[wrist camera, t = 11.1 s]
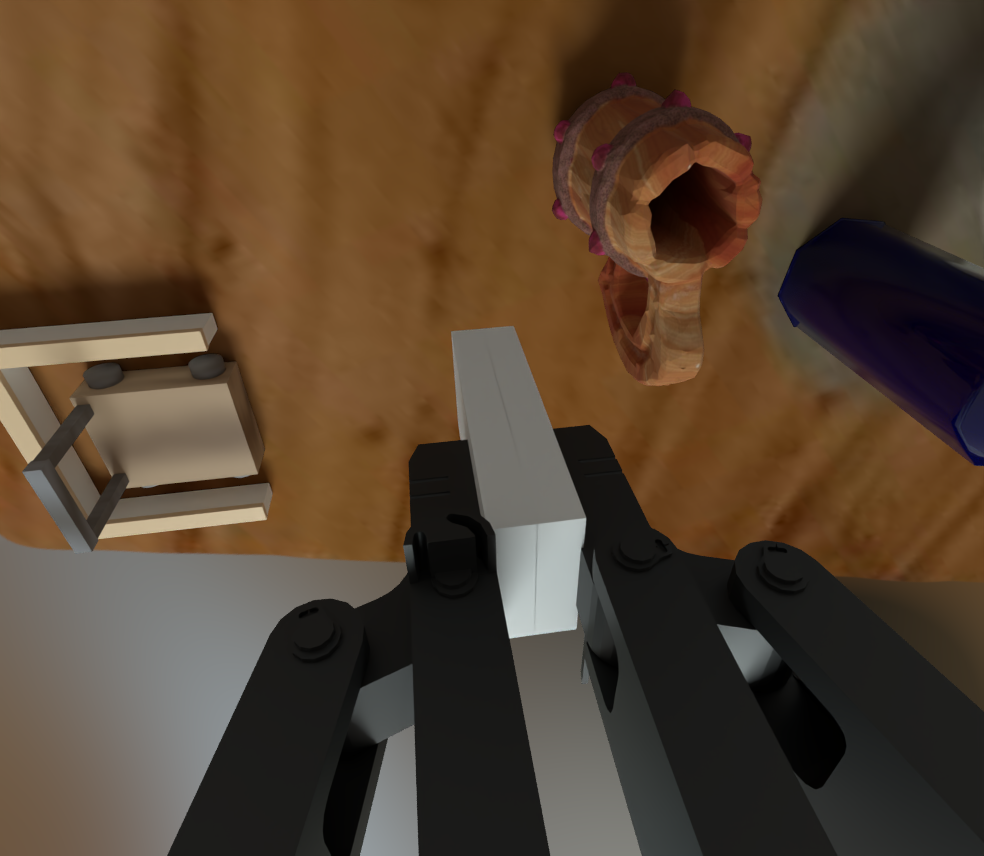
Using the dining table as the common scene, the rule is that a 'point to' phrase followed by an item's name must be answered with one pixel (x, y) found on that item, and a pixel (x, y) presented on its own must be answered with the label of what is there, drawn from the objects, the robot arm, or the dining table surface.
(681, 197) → the mug
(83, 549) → the trolley
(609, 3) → the dining table surface
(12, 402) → the bay
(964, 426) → the bottle
